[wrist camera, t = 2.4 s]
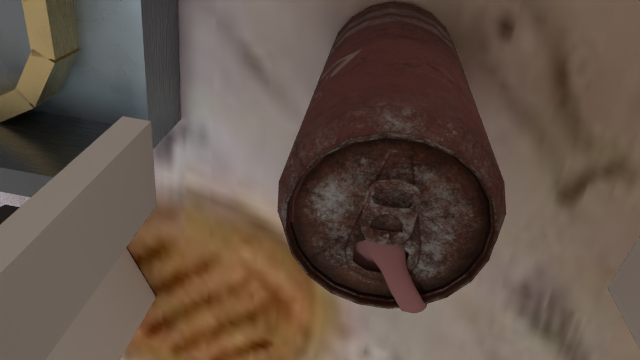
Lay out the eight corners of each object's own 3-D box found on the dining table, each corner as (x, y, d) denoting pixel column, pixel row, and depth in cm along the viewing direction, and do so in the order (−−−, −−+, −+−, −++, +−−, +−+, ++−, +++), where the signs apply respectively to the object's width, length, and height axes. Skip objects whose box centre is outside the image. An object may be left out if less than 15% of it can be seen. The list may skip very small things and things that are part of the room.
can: (367, 142, 27) (345, 348, 15) (308, 39, 24) (224, 186, 12) (475, 93, 24) (551, 289, 13) (422, -26, 22) (454, 78, 10)
